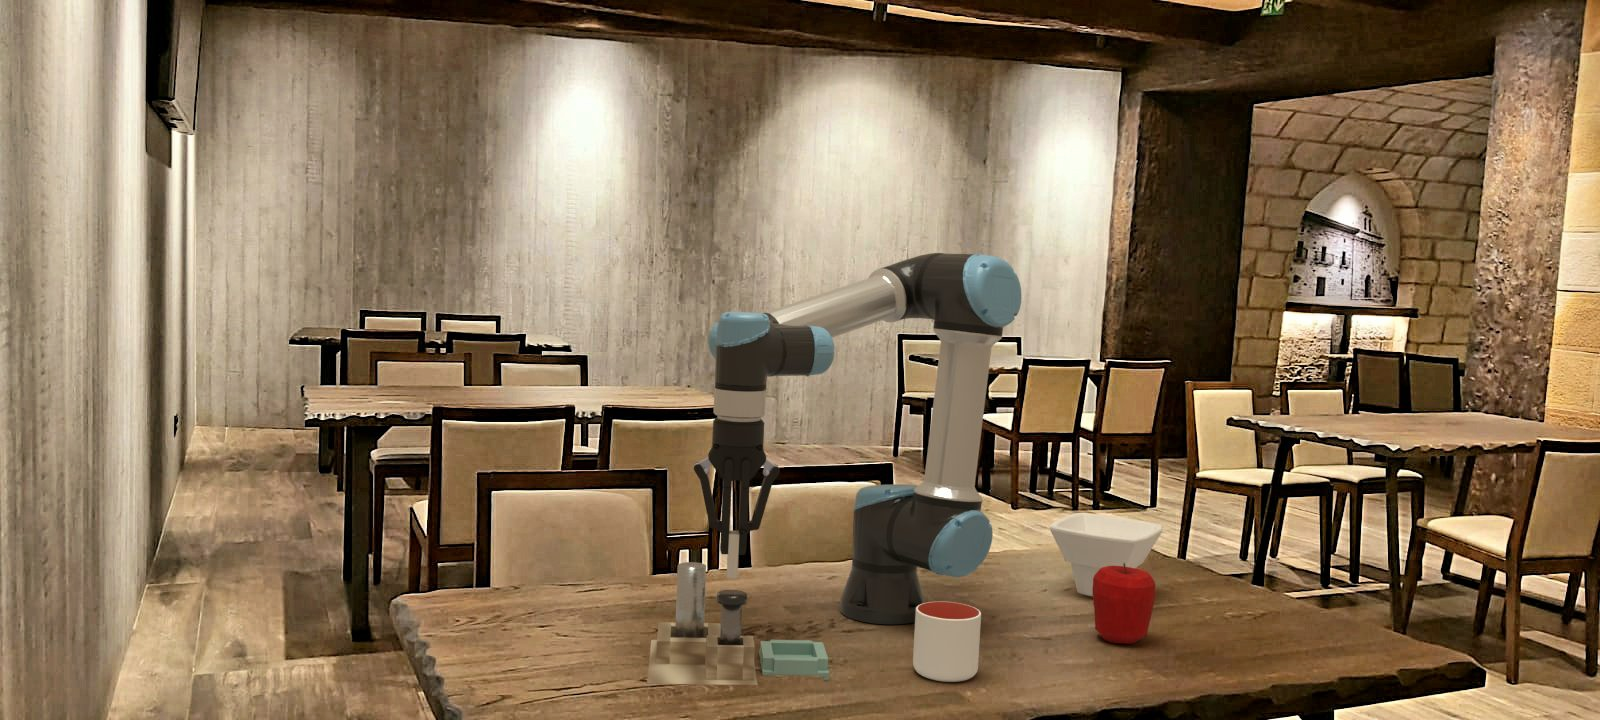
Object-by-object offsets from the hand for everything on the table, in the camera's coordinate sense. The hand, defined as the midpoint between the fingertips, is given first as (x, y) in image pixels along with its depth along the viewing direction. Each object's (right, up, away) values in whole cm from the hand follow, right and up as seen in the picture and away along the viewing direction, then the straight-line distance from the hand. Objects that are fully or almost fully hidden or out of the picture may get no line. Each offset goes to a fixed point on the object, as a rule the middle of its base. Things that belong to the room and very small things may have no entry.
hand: (731, 575), depth 190 cm
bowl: (+68, -14, +58) cm, 90 cm away
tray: (+9, -16, +7) cm, 19 cm away
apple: (+65, -16, +29) cm, 73 cm away
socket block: (-6, -15, +7) cm, 18 cm away
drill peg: (-7, -14, +10) cm, 18 cm away
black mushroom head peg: (0, -12, +1) cm, 12 cm away
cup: (+32, -17, +8) cm, 37 cm away
